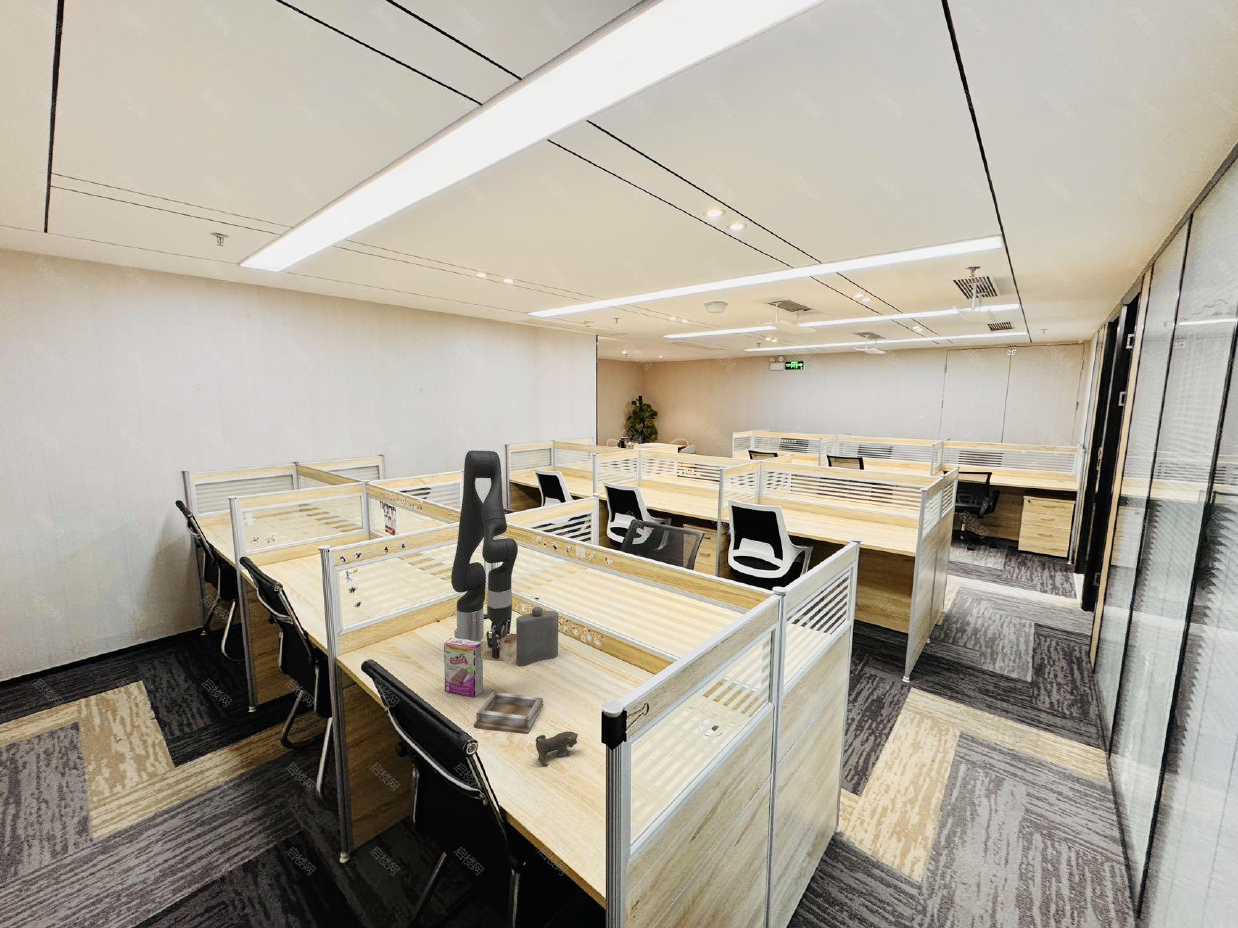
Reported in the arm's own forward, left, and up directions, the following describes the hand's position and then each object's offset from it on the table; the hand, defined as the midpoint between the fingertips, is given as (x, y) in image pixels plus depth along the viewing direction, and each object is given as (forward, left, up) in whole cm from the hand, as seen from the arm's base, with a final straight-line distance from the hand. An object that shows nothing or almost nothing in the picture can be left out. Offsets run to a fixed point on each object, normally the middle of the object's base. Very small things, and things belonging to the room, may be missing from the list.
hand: (499, 653), depth 159 cm
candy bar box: (-11, -2, -13) cm, 17 cm away
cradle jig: (+8, -11, -13) cm, 19 cm away
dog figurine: (+27, -24, -13) cm, 39 cm away
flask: (+5, +20, -13) cm, 25 cm away
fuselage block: (0, 0, -1) cm, 1 cm away
